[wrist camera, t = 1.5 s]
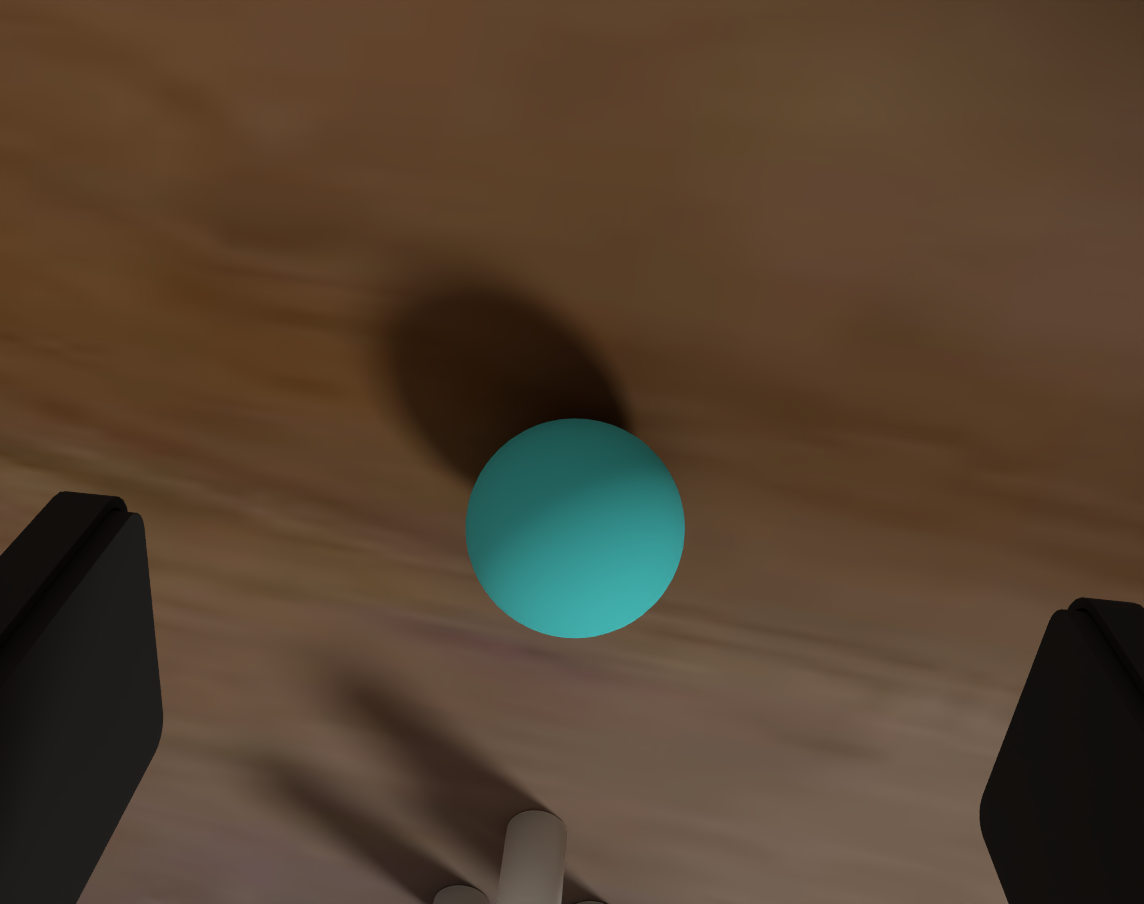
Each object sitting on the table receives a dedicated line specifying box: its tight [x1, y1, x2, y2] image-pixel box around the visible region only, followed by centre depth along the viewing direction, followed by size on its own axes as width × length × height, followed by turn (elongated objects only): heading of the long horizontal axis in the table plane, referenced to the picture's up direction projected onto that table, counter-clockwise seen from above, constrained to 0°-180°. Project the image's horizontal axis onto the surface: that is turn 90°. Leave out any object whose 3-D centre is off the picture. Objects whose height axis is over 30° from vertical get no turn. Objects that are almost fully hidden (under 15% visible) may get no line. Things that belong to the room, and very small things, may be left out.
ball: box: [466, 418, 685, 638], centre depth 30 cm, size 6×6×6 cm
